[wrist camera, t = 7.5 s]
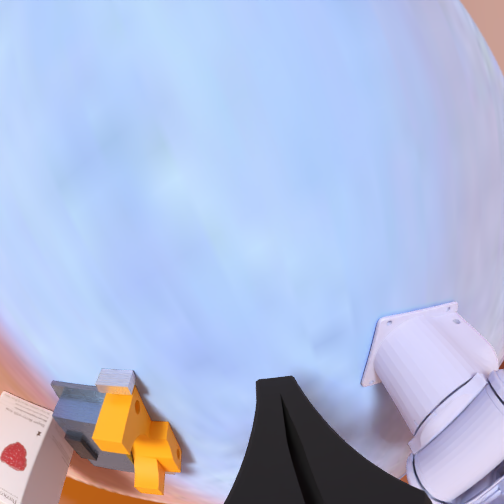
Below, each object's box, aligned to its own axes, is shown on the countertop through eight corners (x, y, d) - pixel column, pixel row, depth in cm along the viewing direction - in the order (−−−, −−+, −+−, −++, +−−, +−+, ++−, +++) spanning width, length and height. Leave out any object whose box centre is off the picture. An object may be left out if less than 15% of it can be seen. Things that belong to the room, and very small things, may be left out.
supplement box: (56, 410, 22) (20, 513, 9) (76, 447, 26) (54, 533, 12) (1, 387, 21) (-42, 472, 7) (25, 427, 24) (-4, 503, 10)
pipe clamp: (181, 449, 26) (179, 496, 20) (146, 447, 26) (140, 492, 20) (154, 384, 22) (143, 445, 16) (110, 382, 21) (91, 438, 15)
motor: (132, 370, 21) (121, 409, 16) (176, 461, 27) (174, 490, 23) (42, 361, 20) (24, 392, 16) (104, 453, 26) (98, 479, 22)
